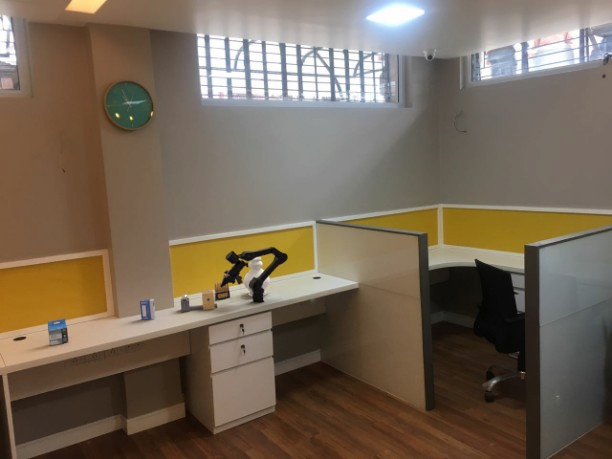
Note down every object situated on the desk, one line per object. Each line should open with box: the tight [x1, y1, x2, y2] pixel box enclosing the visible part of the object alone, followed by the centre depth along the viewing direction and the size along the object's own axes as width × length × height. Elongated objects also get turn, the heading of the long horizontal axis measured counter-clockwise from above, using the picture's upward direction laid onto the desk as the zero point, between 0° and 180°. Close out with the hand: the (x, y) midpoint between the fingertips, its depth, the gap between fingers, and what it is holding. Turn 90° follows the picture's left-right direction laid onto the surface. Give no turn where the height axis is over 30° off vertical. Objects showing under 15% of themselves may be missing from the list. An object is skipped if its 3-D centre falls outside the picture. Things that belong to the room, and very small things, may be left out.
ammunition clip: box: [214, 281, 231, 302], centre depth 357 cm, size 11×2×12 cm, turn 125°
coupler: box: [180, 294, 218, 313], centre depth 335 cm, size 22×7×10 cm, turn 103°
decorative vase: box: [243, 256, 271, 297], centre depth 364 cm, size 18×18×25 cm
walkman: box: [139, 298, 157, 321], centre depth 319 cm, size 8×3×12 cm, turn 91°
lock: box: [201, 289, 216, 311], centre depth 336 cm, size 7×8×10 cm
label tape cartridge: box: [47, 318, 69, 347], centre depth 282 cm, size 9×4×12 cm, turn 121°
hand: (220, 287), depth 337 cm, fingers closed
